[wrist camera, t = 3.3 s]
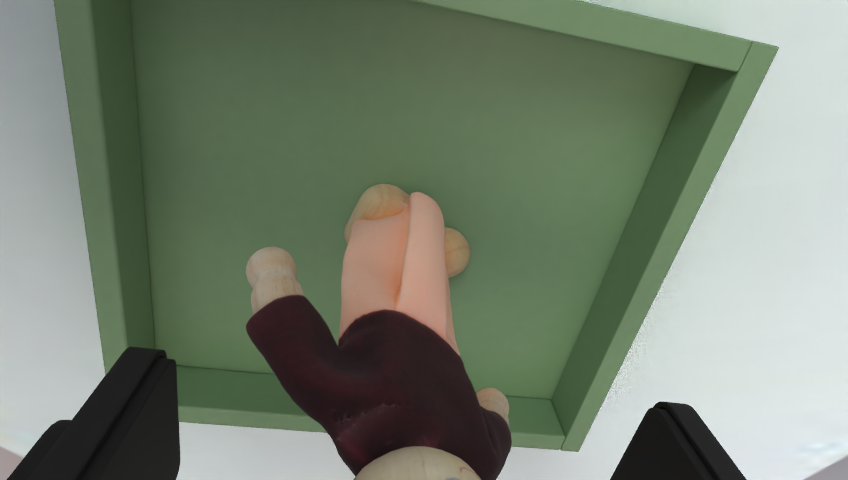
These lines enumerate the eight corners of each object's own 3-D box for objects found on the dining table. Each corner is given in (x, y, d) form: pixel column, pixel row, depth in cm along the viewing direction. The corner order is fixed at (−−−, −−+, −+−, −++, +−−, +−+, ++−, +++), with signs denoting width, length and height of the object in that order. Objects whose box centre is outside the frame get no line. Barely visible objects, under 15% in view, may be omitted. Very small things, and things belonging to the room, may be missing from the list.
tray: (140, 369, 19) (110, 418, 17) (96, -106, 12) (33, -126, 10) (559, 406, 22) (578, 452, 19) (722, 38, 15) (780, 46, 12)
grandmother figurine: (517, 234, 17) (785, 729, 6) (458, 313, 18) (578, 835, 7) (316, 125, 14) (83, 592, 3) (266, 225, 16) (-15, 788, 5)
